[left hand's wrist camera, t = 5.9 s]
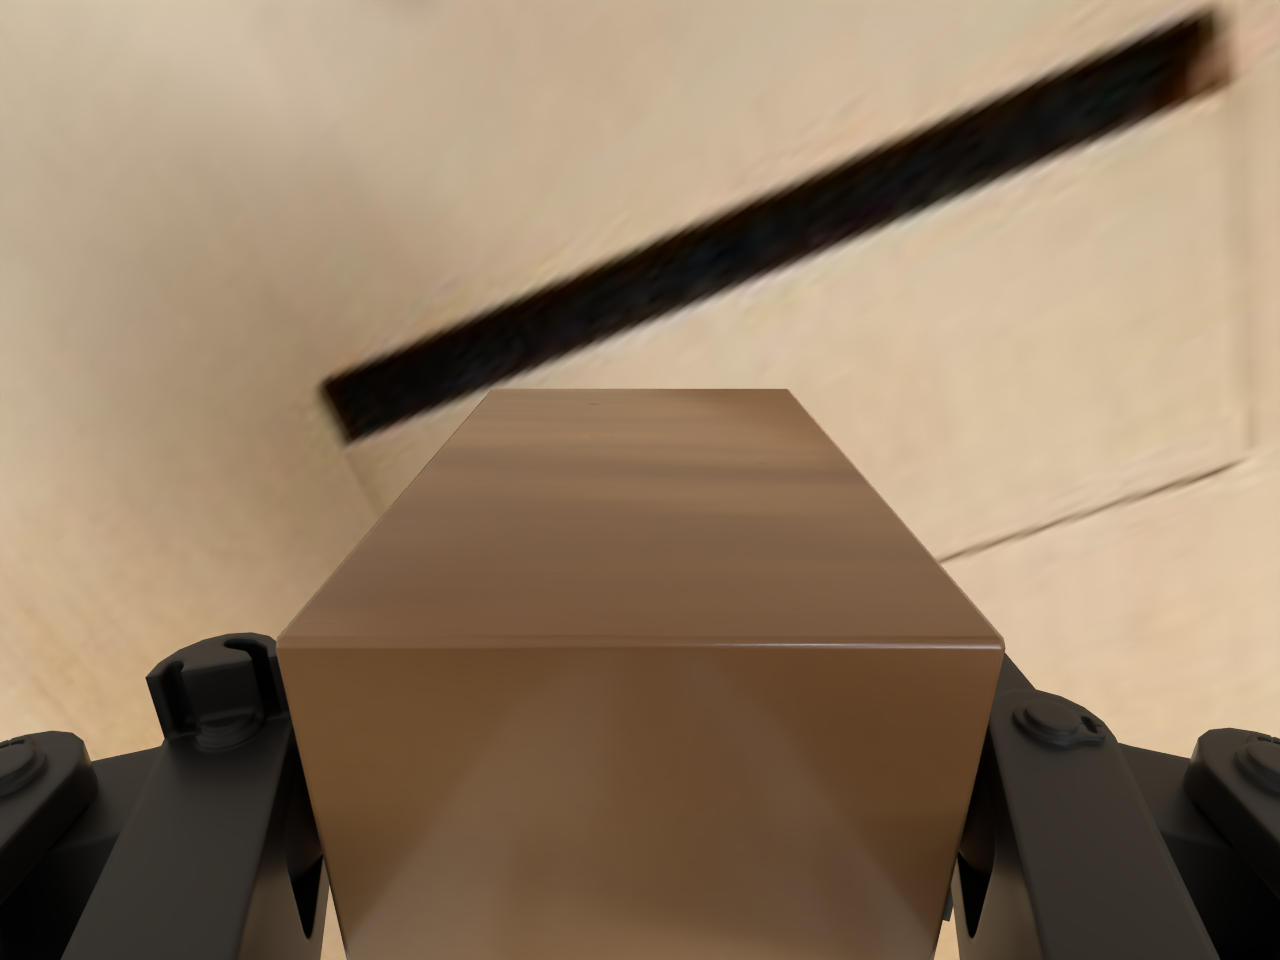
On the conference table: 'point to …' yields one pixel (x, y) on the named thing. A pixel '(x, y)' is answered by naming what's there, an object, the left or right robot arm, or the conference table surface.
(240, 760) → the left robot arm
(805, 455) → the bar
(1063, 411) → the conference table surface
